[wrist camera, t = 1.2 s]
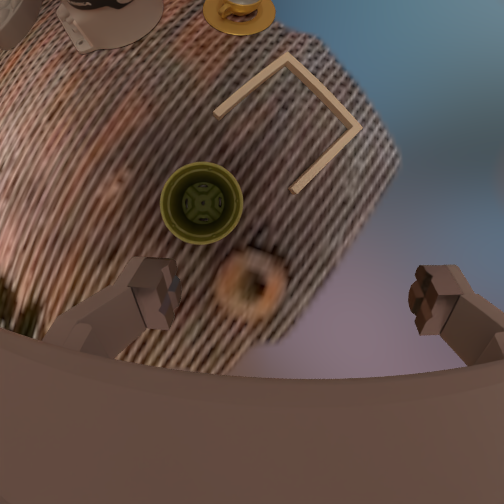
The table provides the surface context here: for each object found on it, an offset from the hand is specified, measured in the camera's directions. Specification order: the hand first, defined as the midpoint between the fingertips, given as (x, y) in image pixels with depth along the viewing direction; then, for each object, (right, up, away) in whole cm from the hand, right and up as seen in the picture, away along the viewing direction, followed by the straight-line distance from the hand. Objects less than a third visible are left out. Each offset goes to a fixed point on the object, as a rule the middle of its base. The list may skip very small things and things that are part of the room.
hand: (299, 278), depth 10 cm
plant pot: (-8, +8, +32) cm, 34 cm away
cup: (-4, +41, +28) cm, 50 cm away
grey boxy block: (-48, +46, +21) cm, 70 cm away
